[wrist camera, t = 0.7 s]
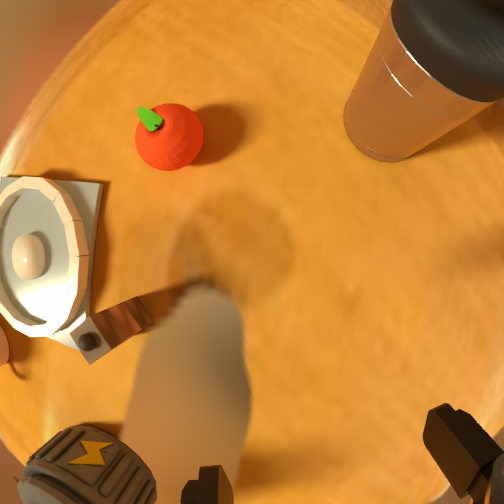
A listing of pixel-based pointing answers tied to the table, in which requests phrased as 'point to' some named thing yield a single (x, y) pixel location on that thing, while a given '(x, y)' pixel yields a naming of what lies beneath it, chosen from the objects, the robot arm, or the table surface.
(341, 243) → the table surface
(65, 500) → the decorative lamp
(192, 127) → the clementine
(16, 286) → the groove dish
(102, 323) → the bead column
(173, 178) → the table surface
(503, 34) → the robot arm
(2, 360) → the teacup with lid
